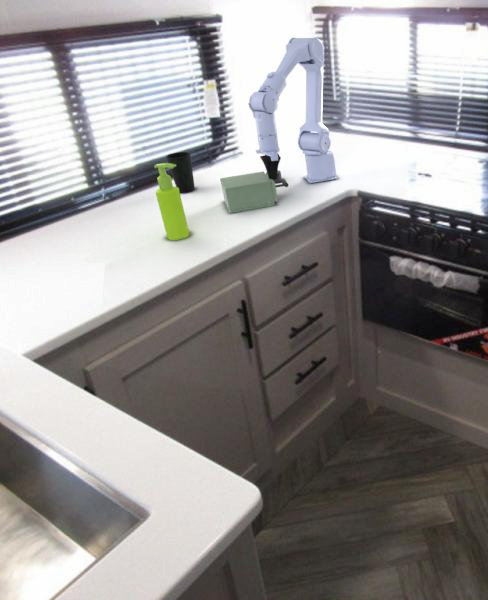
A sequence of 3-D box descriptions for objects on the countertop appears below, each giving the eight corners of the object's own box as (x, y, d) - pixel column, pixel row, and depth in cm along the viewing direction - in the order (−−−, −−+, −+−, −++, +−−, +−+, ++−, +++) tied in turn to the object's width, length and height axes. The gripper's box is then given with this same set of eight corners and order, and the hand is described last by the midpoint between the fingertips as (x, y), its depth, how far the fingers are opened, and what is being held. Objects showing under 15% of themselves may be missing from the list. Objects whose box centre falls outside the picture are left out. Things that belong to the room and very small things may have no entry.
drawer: (284, 189, 185) (282, 171, 182) (292, 198, 176) (289, 180, 174) (231, 198, 180) (228, 180, 177) (236, 208, 171) (233, 189, 169)
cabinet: (267, 194, 184) (263, 171, 180) (274, 205, 175) (271, 181, 171) (224, 201, 180) (219, 178, 176) (230, 213, 171) (225, 188, 167)
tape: (280, 177, 199) (278, 169, 198) (283, 181, 195) (282, 172, 194) (266, 180, 198) (264, 171, 196) (268, 184, 194) (267, 175, 192)
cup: (201, 186, 196) (193, 151, 190) (192, 193, 189) (184, 157, 183) (180, 187, 197) (171, 152, 191) (170, 194, 190) (161, 158, 184)
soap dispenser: (186, 240, 154) (168, 167, 144) (163, 239, 155) (144, 167, 145) (196, 232, 159) (180, 160, 149) (174, 231, 160) (156, 160, 150)
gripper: (249, 131, 175) (256, 175, 181) (258, 140, 163) (264, 187, 169) (272, 128, 177) (277, 172, 184) (282, 137, 165) (288, 183, 172)
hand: (273, 179), depth 177 cm, fingers closed, pressing on drawer
